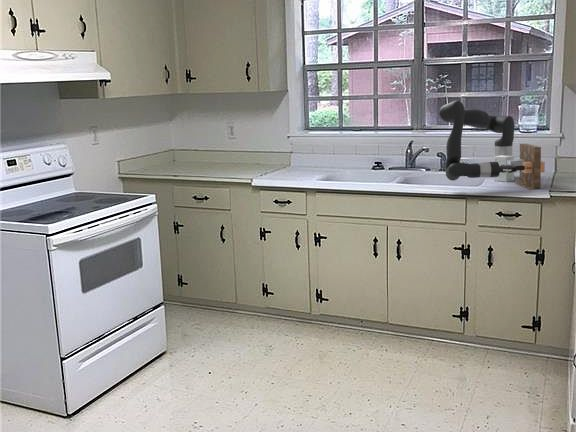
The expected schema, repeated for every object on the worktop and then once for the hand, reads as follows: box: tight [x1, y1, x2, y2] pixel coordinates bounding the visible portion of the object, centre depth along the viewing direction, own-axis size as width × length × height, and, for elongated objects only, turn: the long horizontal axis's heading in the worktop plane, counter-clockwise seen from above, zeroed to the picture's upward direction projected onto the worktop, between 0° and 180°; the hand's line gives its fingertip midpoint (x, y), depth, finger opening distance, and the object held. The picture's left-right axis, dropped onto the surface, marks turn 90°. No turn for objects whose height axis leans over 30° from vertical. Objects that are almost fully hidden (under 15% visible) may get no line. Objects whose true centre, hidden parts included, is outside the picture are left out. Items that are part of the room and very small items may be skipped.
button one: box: [507, 158, 525, 172], centre depth 329 cm, size 5×9×5 cm, turn 89°
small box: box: [493, 155, 515, 183], centre depth 346 cm, size 8×6×13 cm
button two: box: [522, 160, 546, 173], centre depth 318 cm, size 5×9×5 cm, turn 89°
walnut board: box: [514, 143, 542, 190], centre depth 324 cm, size 21×6×20 cm, turn 179°
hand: (524, 167), depth 319 cm, fingers closed
